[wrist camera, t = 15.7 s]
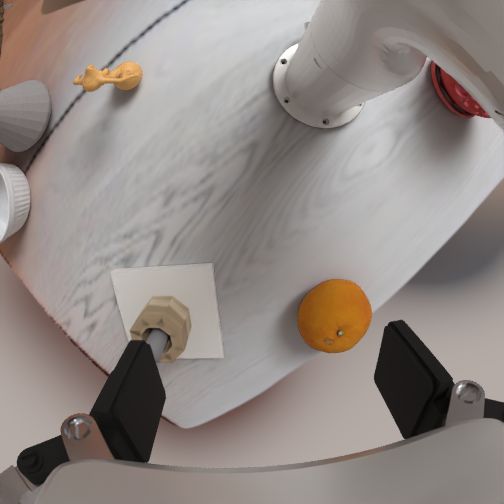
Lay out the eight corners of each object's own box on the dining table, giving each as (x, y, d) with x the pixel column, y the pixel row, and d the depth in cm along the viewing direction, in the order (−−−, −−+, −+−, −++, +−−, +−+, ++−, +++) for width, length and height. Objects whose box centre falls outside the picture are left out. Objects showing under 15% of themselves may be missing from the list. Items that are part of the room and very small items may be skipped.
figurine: (164, 67, 31) (133, 33, 19) (154, 108, 33) (117, 88, 21) (110, 67, 30) (67, 40, 19) (100, 106, 32) (52, 91, 20)
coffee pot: (53, 151, 33) (-16, 155, 19) (8, 152, 32) (-55, 159, 18) (82, 24, 27) (31, -12, 13) (33, 37, 26) (-20, 15, 12)
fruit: (278, 303, 41) (285, 334, 34) (335, 257, 39) (355, 279, 32) (318, 344, 44) (331, 377, 36) (371, 304, 42) (392, 331, 34)
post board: (114, 268, 39) (80, 299, 29) (213, 262, 39) (203, 297, 29) (136, 352, 43) (116, 393, 33) (224, 352, 44) (220, 398, 34)
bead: (140, 296, 39) (125, 317, 33) (186, 295, 39) (178, 317, 33) (149, 337, 41) (138, 360, 35) (193, 337, 41) (187, 362, 35)
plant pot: (479, 130, 33) (529, 130, 22) (424, 107, 33) (476, 97, 21) (476, 65, 30) (520, 54, 18) (420, 36, 29) (464, 12, 17)
